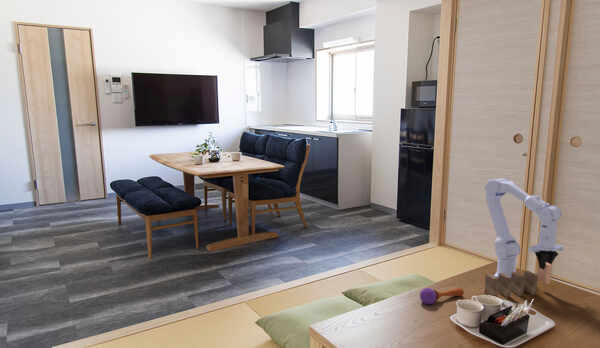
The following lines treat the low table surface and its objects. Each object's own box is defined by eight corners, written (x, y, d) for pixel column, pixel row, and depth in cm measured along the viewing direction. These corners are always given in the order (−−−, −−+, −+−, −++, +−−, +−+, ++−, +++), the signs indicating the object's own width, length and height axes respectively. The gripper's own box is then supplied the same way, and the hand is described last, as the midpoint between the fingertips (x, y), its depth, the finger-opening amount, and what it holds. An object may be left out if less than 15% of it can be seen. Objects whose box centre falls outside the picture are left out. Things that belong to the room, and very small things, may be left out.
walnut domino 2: (501, 291, 169) (503, 272, 168) (510, 296, 165) (511, 277, 163) (497, 291, 169) (498, 273, 168) (505, 297, 164) (507, 277, 163)
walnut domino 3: (514, 290, 171) (515, 271, 169) (523, 295, 166) (524, 276, 165) (510, 290, 170) (511, 272, 169) (518, 295, 165) (520, 276, 164)
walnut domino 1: (488, 292, 168) (490, 273, 167) (496, 297, 163) (498, 278, 162) (484, 293, 168) (485, 274, 167) (492, 298, 163) (493, 278, 162)
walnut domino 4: (527, 289, 172) (528, 270, 171) (536, 294, 167) (538, 275, 166) (522, 289, 171) (524, 271, 170) (531, 294, 166) (533, 275, 165)
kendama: (468, 289, 162) (429, 294, 153) (464, 302, 164) (425, 308, 155) (456, 281, 167) (418, 285, 158) (453, 294, 169) (415, 299, 160)
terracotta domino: (540, 278, 172) (542, 260, 171) (550, 283, 168) (551, 264, 166) (536, 279, 172) (538, 260, 171) (545, 284, 167) (547, 265, 166)
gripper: (539, 239, 162) (536, 272, 164) (571, 237, 165) (567, 270, 166) (526, 234, 169) (523, 266, 170) (556, 232, 171) (553, 264, 173)
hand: (544, 268), depth 169 cm, fingers closed on terracotta domino, 2 cm apart
